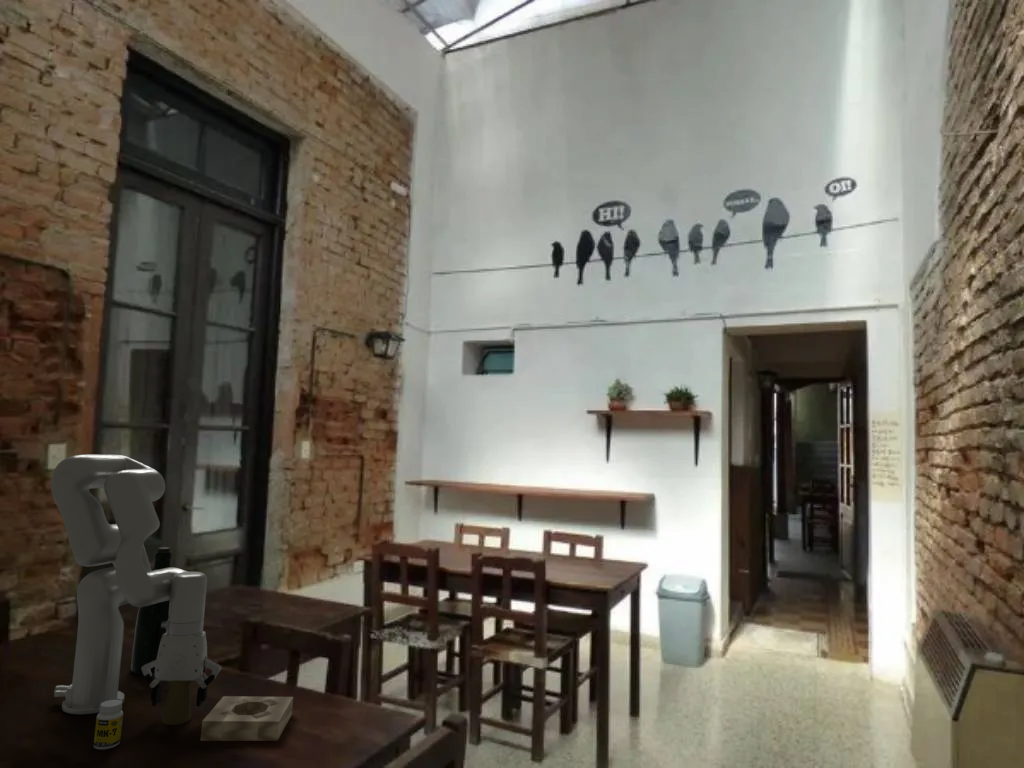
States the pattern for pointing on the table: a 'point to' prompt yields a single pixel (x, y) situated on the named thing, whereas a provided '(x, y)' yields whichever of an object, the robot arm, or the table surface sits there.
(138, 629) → the wine bottle
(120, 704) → the supplement bottle
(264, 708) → the jig
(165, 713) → the cork
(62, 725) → the table surface
